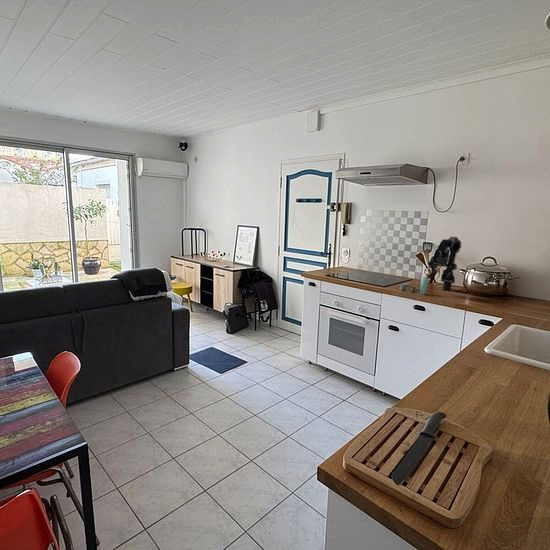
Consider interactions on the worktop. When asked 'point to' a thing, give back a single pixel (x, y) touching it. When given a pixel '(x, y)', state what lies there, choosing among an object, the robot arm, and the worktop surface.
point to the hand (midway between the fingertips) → (439, 276)
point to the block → (412, 289)
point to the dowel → (423, 285)
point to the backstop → (402, 286)
